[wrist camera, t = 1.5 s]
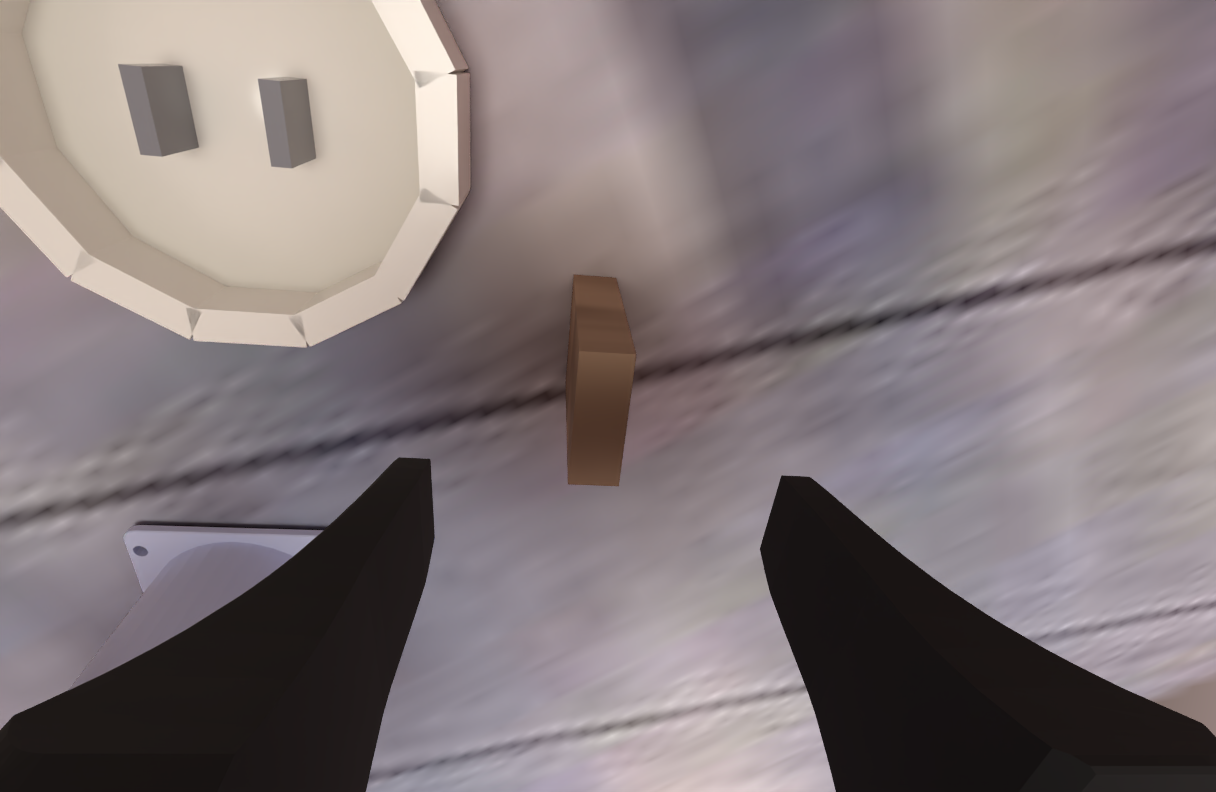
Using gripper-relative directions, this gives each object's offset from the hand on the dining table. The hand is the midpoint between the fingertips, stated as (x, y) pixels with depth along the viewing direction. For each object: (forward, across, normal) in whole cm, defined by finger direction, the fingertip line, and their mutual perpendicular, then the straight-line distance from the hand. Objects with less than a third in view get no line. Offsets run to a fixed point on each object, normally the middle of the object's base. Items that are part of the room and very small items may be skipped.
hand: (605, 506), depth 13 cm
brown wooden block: (+10, 0, 0) cm, 10 cm away
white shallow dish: (+10, +10, -6) cm, 15 cm away
